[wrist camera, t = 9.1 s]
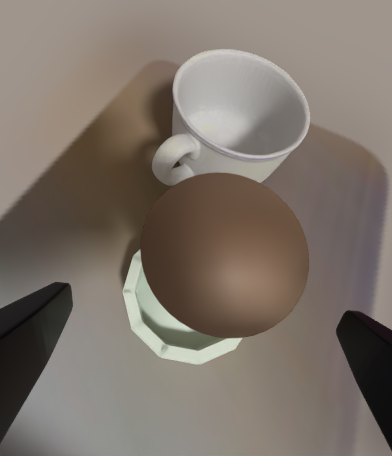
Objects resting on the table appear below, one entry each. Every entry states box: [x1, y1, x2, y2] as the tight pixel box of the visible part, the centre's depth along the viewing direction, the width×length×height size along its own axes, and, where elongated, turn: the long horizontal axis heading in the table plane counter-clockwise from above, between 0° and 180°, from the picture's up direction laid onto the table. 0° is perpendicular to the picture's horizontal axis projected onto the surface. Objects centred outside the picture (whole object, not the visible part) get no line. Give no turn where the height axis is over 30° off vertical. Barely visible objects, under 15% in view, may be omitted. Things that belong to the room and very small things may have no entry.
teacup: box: [152, 49, 310, 186], centre depth 20 cm, size 14×11×8 cm
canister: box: [140, 172, 309, 338], centre depth 12 cm, size 5×5×12 cm
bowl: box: [123, 250, 242, 365], centre depth 18 cm, size 10×10×2 cm
